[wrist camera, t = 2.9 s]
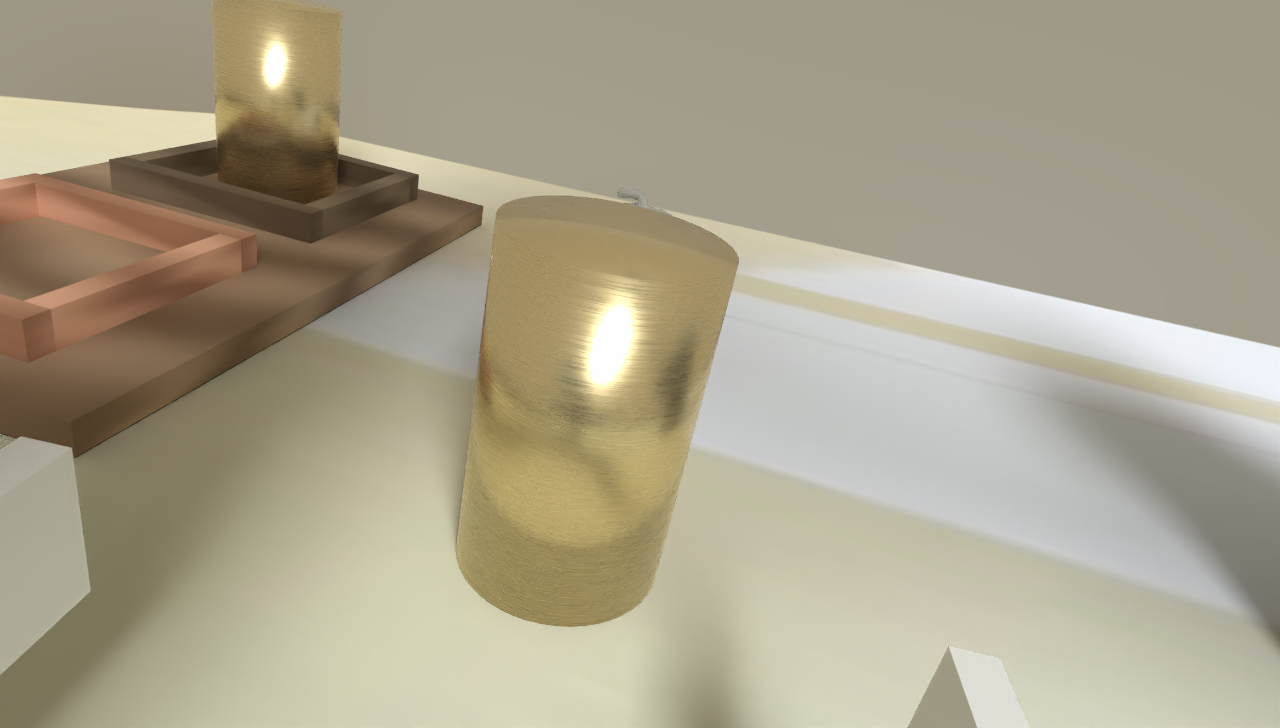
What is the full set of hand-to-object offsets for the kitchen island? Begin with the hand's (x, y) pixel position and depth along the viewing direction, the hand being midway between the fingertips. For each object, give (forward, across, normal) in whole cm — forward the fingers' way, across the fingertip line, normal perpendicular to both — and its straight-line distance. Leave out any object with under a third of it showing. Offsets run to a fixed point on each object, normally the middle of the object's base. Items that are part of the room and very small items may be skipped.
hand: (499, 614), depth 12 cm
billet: (+33, -20, -5) cm, 39 cm away
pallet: (+25, -21, -7) cm, 34 cm away
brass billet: (+10, 0, -7) cm, 12 cm away
